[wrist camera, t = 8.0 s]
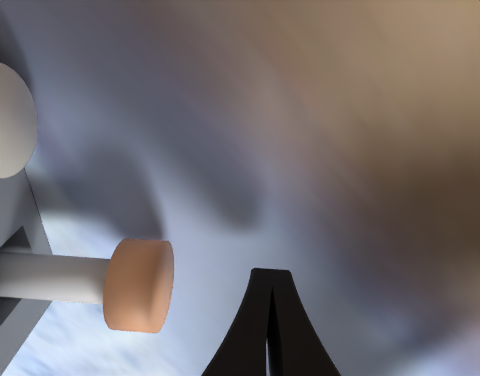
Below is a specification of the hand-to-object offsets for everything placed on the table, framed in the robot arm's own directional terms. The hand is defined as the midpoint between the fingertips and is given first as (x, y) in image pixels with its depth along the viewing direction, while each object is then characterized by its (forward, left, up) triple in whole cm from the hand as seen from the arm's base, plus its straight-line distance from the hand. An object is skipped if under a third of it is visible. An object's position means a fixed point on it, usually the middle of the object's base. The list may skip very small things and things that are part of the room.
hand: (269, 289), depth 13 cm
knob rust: (-7, 0, -1) cm, 7 cm away
